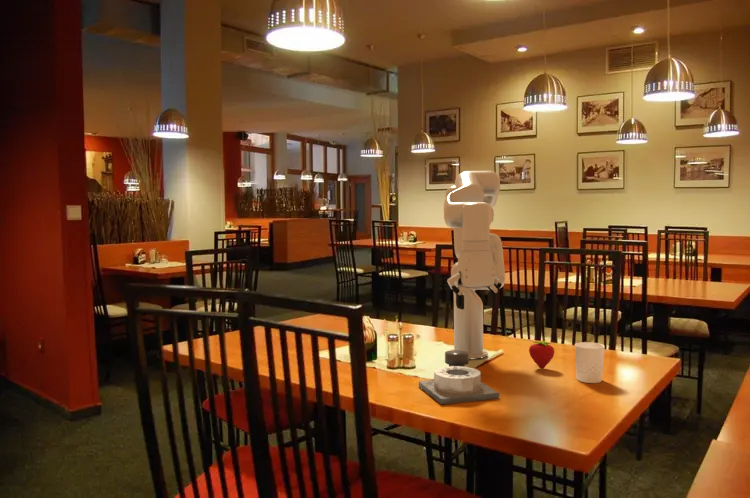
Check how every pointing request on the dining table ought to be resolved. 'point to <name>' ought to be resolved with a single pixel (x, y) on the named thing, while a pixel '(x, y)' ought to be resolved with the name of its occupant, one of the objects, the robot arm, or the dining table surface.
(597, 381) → the white cup
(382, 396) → the dining table surface
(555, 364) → the dining table surface
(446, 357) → the cap
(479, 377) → the square base disc pedestal
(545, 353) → the strawberry
